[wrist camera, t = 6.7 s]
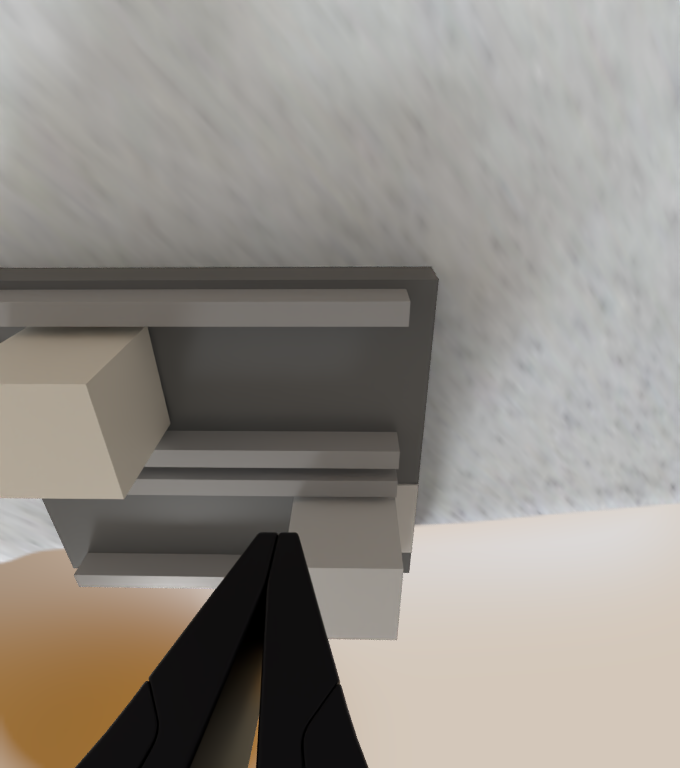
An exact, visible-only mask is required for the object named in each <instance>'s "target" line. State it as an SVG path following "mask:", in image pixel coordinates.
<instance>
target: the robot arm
mask: <svg viewBox="0 0 680 768" xmlns="http://www.w3.org/2000/svg"><path fill="white" fill-rule="evenodd" d="M258 717H259V727H258V744H257V762H256V768H368V765H367V763H366V760H365V758H364V755H363V752H362V750H361V747H360V744H359V742H358V739H357V736H356V733H355V730H354V727H353V724H352V720H351V717H350V714H349V711H348V708H347V704H346V701H345V697H344V694H343V690H342V687H341V685H340V680H339V676H338V673H337V669H336V666H335V663H334V659H333V655H332V652H331V648H330V645H329V641H328V637H327V634H326V630H325V627H324V623H323V620H322V616H321V613H320V609H319V605H318V602H317V598H316V595H315V591H314V588H313V584H312V581H311V577H310V573H309V570H308V566H307V563H306V559H305V556H304V552H303V549H302V545H301V541H300V538H299V535H298V533H296V532H281V533H279V535H278V533H276V532H260V533H258V534H257V535H256V536H255V538H254V539H253V540H252V542H251V543H250V544H249V546H248V547H247V548H246V550H245V551H244V552H243V554H242V555H241V556H240V558H239V559H238V560H237V562H236V563H235V564H234V566H233V567H232V568H231V569H230V571H229V572H228V573H227V575H226V576H225V577H224V579H223V580H222V581H221V583H220V584H219V585H218V587H217V588H216V589H215V591H214V592H213V593H212V595H211V596H210V597H209V599H208V600H207V602H206V603H205V604H204V605H203V606H202V608H201V609H200V610H199V612H198V613H197V614H196V616H195V617H194V618H193V620H192V621H191V622H190V624H189V625H188V626H187V628H186V629H185V630H184V632H183V633H182V634H181V636H180V637H179V638H178V640H177V641H176V642H175V643H174V645H173V646H172V647H171V649H170V650H169V651H168V653H167V654H166V655H165V657H164V658H163V659H162V661H161V662H160V663H159V665H158V666H157V667H156V669H155V670H154V671H153V672H152V674H151V675H150V676H149V681H146V682H145V683H144V684H143V685H142V687H141V688H140V689H139V691H138V692H137V693H136V695H135V696H134V697H133V699H132V700H131V701H130V703H129V704H128V705H127V706H126V708H125V709H124V710H123V711H122V713H121V714H120V715H119V716H118V718H117V719H116V720H115V722H114V723H113V724H112V725H111V726H110V728H109V729H108V730H107V732H106V733H105V734H104V735H103V736H102V737H101V739H100V740H99V741H98V742H97V743H96V744H95V745H94V747H93V748H92V749H91V750H90V751H89V753H87V755H86V756H85V757H84V758H83V759H82V760H81V762H80V763H79V764H78V765H77V766H76V767H75V768H248V764H249V759H250V755H251V750H252V745H253V740H254V736H255V730H256V726H257V721H258Z"/></svg>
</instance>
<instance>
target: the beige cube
mask: <svg viewBox="0 0 680 768" xmlns="http://www.w3.org/2000/svg"><path fill="white" fill-rule="evenodd" d="M169 425H170V419H169V415H168V411H167V407H166V403H165V398H164V394H163V390H162V386H161V381H160V377H159V373H158V369H157V365H156V360H155V356H154V352H153V348H152V344H151V339H150V335H149V331H148V327H26V328H25V329H23V330H21V331H20V332H18V333H16V334H15V335H13V336H11V337H10V338H8V339H7V340H5V341H3V342H2V343H0V498H49V499H125V497H126V495H127V494H128V492H129V490H130V489H131V487H132V485H133V484H134V482H135V481H136V479H137V477H138V476H139V474H140V472H141V471H142V469H143V468H144V466H145V464H146V463H147V461H148V459H149V458H150V456H151V455H152V453H153V451H154V450H155V448H156V446H157V445H158V443H159V442H160V440H161V438H162V437H163V435H164V433H165V432H166V430H167V428H168V427H169Z"/></svg>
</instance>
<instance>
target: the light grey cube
mask: <svg viewBox="0 0 680 768" xmlns="http://www.w3.org/2000/svg"><path fill="white" fill-rule="evenodd" d="M289 532H296V533H298V535H299V538H300V541H301V545H302V549H303V552H304V556H305V559H306V563H307V566H308V570H309V573H310V577H311V581H312V584H313V588H314V591H315V595H316V598H317V602H318V605H319V609H320V613H321V616H322V620H323V623H324V627H325V630H326V634H327V637H328V639H369V640H370V639H371V640H397V635H398V623H399V613H400V600H401V591H402V580H403V579H402V578H403V561H402V552H401V544H400V535H399V526H398V518H397V509H396V501H395V497H304V496H294V500H293V506H292V512H291V519H290V525H289Z"/></svg>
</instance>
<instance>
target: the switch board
mask: <svg viewBox="0 0 680 768" xmlns="http://www.w3.org/2000/svg"><path fill="white" fill-rule="evenodd" d="M438 281H439V279H438V278H437V276H436V274H435V272H434V271H433V269H432V267H214V268H0V343H2V342H3V341H5V340H7V339H8V338H10V337H11V336H13V335H15V334H16V333H18V332H20V331H21V330H23V329H25V328H26V327H148V331H149V335H150V339H151V344H152V348H153V352H154V356H155V360H156V365H157V369H158V373H159V377H160V381H161V386H162V390H163V394H164V398H165V403H166V407H167V411H168V415H169V419H170V425H169V427H168V428H167V430H166V432H165V433H164V435H163V437H162V438H161V440H160V442H159V443H158V445H157V446H156V448H155V450H154V451H153V453H152V455H151V456H150V458H149V459H148V461H147V463H146V464H145V466H144V468H143V469H142V471H141V472H140V474H139V476H138V477H137V479H136V481H135V482H134V484H133V485H132V487H131V489H130V490H129V492H128V494H127V495H126V497H125V499H49V498H42V500H43V502H44V504H45V506H46V509H47V511H48V513H49V515H50V517H51V520H52V522H53V524H54V526H55V528H56V531H57V533H58V535H59V537H60V539H61V542H62V544H63V546H64V548H65V550H66V552H67V555H68V557H69V559H70V561H71V563H72V565H73V568H78V569H77V571H76V572H75V574H74V577H75V579H76V581H77V583H78V585H79V587H137V588H204V589H208V588H209V589H216V588H217V587H218V585H219V584H220V583H221V581H222V580H223V579H224V577H225V576H226V575H227V573H228V572H229V571H230V569H231V568H232V567H233V566H234V564H235V563H236V562H237V560H238V559H239V558H240V556H241V555H242V554H243V552H244V551H245V550H246V548H247V547H248V546H249V544H250V543H251V542H252V540H253V539H254V538H255V536H256V535H257V534H258V533H260V532H276V533H278V535H279V533H281V532H289V525H290V519H291V512H292V506H293V500H294V496H304V497H395V501H396V509H397V518H398V526H399V535H400V544H401V552H402V561H403V573H409V568H410V558H411V552H412V543H413V532H414V523H415V514H416V504H417V494H418V479H419V469H420V459H421V449H422V439H423V429H424V420H425V410H426V400H427V390H428V380H429V370H430V360H431V350H432V340H433V330H434V320H435V310H436V300H437V290H438Z"/></svg>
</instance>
